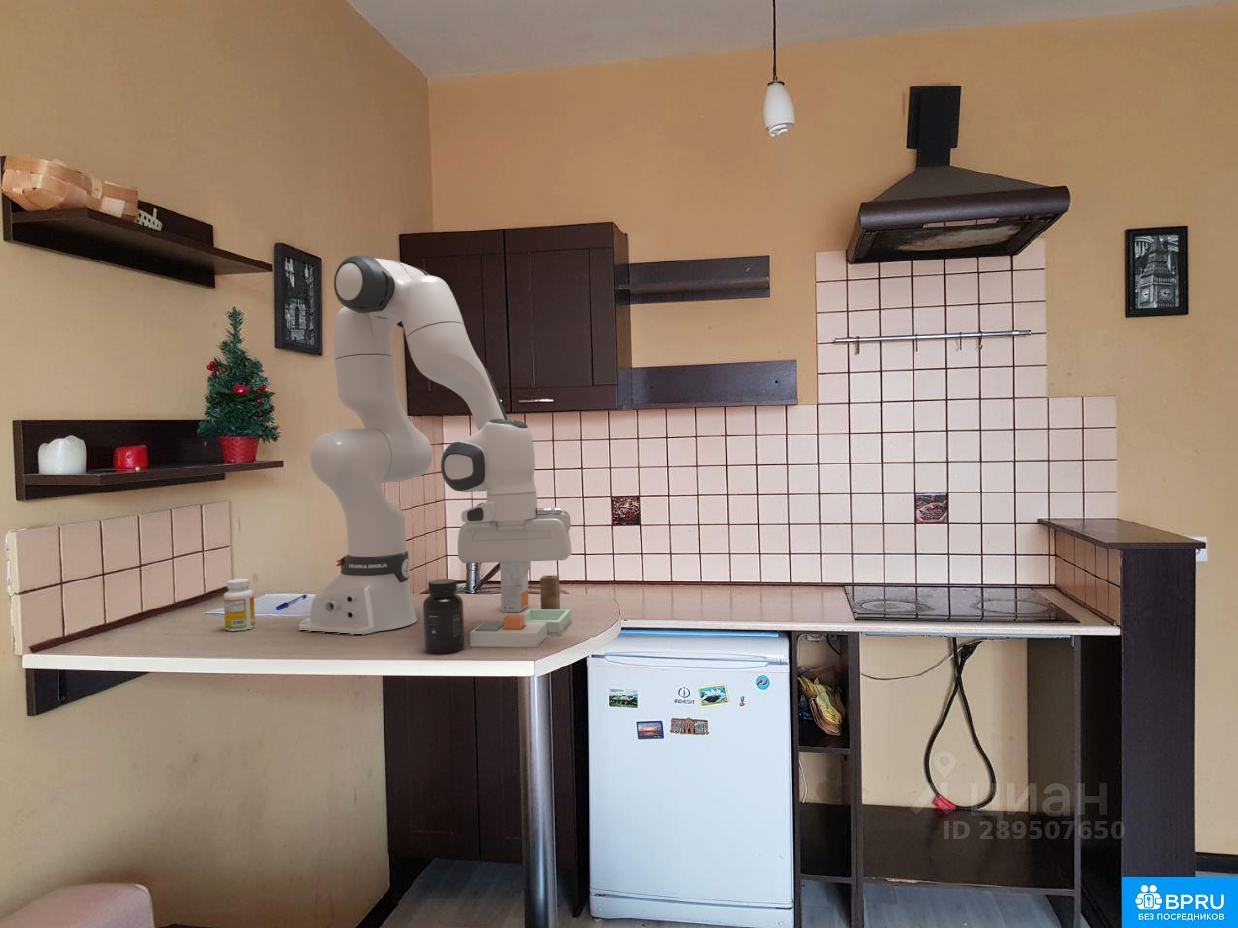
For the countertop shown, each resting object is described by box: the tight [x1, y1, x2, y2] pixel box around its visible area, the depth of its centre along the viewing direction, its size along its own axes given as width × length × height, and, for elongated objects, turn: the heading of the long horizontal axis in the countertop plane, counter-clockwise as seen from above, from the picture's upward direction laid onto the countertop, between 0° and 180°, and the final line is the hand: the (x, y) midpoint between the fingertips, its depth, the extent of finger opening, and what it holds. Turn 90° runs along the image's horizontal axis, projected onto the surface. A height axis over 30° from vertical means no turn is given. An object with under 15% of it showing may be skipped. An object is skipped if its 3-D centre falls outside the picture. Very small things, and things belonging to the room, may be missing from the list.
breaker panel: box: [469, 621, 548, 648], centre depth 148 cm, size 12×8×3 cm, turn 82°
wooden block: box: [539, 575, 561, 609], centre depth 167 cm, size 3×3×8 cm
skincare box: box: [500, 562, 529, 613], centre depth 174 cm, size 6×4×12 cm
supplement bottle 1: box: [223, 578, 256, 631], centre depth 163 cm, size 5×5×10 cm
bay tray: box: [521, 608, 572, 637], centre depth 157 cm, size 9×11×2 cm
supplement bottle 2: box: [422, 578, 465, 655], centre depth 143 cm, size 7×7×12 cm
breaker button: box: [503, 613, 525, 630], centre depth 148 cm, size 3×3×2 cm
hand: (516, 586), depth 147 cm, fingers closed
